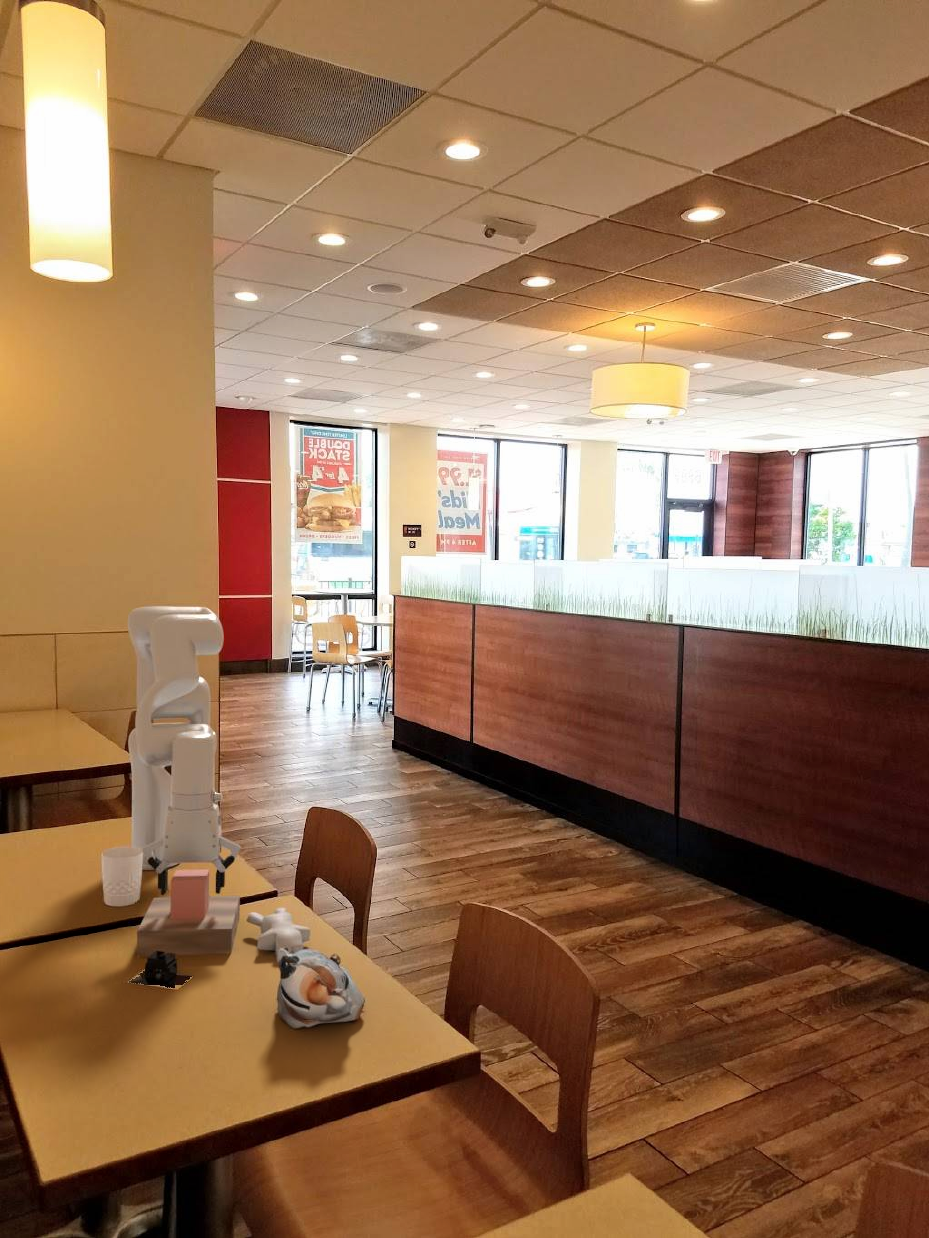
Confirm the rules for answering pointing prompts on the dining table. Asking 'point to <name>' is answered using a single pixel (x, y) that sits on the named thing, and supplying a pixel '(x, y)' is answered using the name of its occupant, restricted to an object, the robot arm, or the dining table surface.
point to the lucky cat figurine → (315, 989)
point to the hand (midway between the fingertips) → (191, 891)
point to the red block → (189, 894)
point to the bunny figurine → (279, 931)
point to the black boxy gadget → (167, 973)
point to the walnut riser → (189, 929)
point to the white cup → (122, 875)
